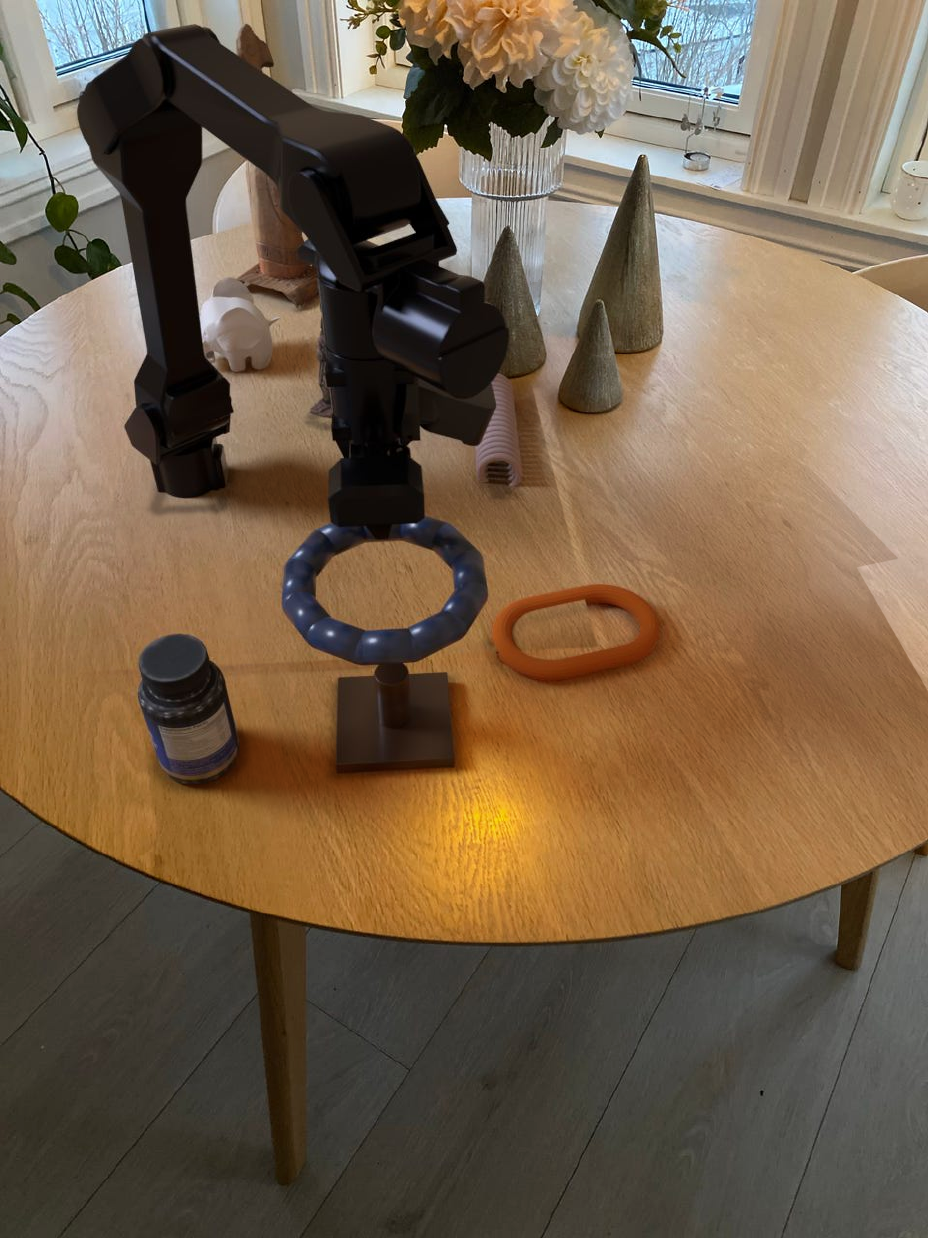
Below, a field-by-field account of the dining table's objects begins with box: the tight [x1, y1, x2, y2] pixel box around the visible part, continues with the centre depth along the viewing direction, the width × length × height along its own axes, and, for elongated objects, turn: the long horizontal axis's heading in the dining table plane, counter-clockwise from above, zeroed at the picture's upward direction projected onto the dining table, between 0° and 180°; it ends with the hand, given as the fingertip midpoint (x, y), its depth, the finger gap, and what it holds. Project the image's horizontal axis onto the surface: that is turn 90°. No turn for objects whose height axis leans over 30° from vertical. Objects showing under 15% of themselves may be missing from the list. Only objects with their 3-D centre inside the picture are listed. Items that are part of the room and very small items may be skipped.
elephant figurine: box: [199, 276, 281, 373], centre depth 116 cm, size 10×12×9 cm
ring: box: [281, 515, 489, 666], centre depth 70 cm, size 15×15×2 cm
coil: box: [474, 372, 523, 488], centre depth 104 cm, size 5×5×18 cm
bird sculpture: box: [235, 23, 319, 310], centre depth 123 cm, size 11×12×32 cm
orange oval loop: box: [491, 583, 661, 681], centre depth 83 cm, size 10×2×15 cm
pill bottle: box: [137, 633, 240, 785], centre depth 70 cm, size 6×6×11 cm
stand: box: [335, 663, 456, 775], centre depth 74 cm, size 9×9×6 cm
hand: (381, 527), depth 74 cm, fingers closed on ring, 2 cm apart
